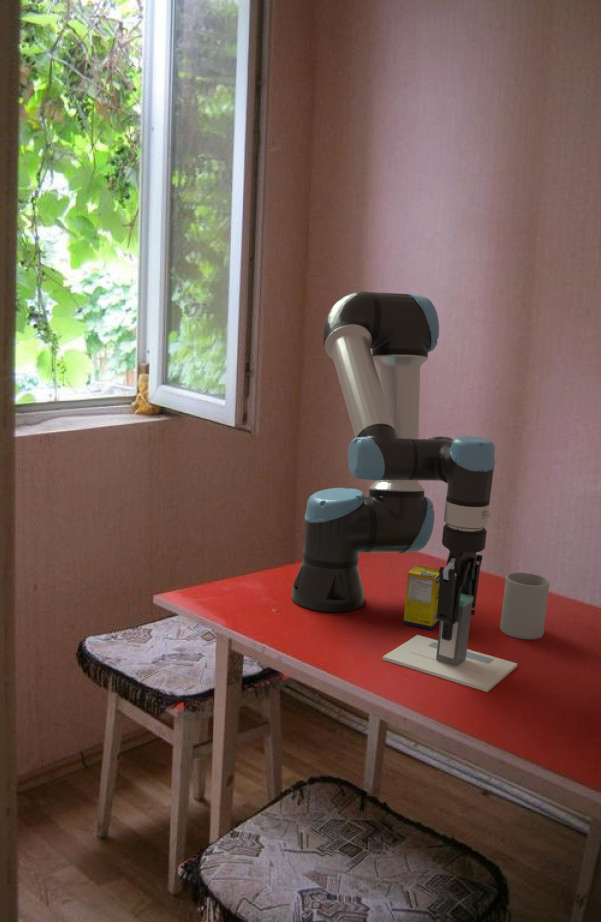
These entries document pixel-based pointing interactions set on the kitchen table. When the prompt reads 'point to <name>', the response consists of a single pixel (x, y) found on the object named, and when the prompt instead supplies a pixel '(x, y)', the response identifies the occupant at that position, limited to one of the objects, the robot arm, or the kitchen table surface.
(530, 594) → the mug
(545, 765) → the kitchen table surface
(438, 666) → the paper pad
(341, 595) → the robot arm
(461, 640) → the grey teal-topped block
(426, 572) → the supplement box
